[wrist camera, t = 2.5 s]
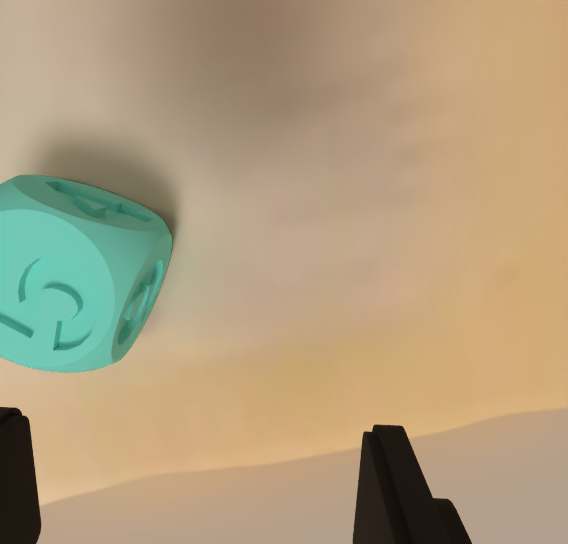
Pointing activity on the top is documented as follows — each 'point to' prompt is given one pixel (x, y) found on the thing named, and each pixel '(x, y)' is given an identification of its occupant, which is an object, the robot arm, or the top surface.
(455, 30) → the top surface
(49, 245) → the decorative dice
